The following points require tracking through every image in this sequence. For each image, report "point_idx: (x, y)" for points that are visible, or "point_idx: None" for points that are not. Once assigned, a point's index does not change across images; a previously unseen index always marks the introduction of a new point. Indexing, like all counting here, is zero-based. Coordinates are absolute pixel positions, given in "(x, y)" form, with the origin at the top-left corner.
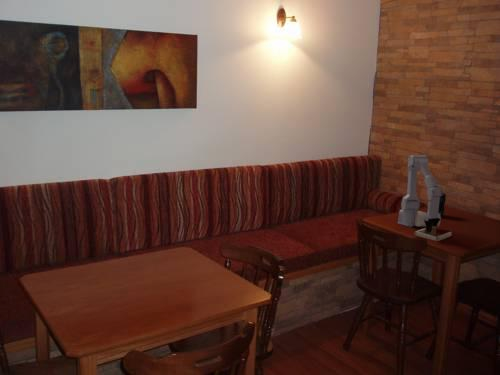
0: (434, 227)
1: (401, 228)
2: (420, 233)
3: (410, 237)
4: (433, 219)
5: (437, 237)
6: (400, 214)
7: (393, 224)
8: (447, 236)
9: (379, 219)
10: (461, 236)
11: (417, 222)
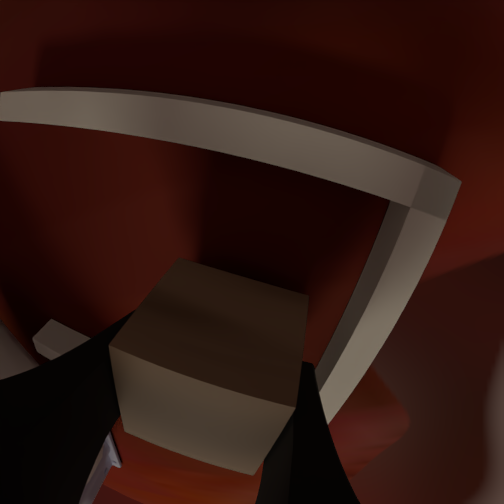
0: (206, 382)
1: (190, 467)
2: (333, 416)
3: (406, 428)
4: (54, 495)
5: (445, 193)
6: (91, 500)
7: (153, 478)
8: (108, 89)
9: (138, 494)
10: (6, 13)
11: (101, 457)
